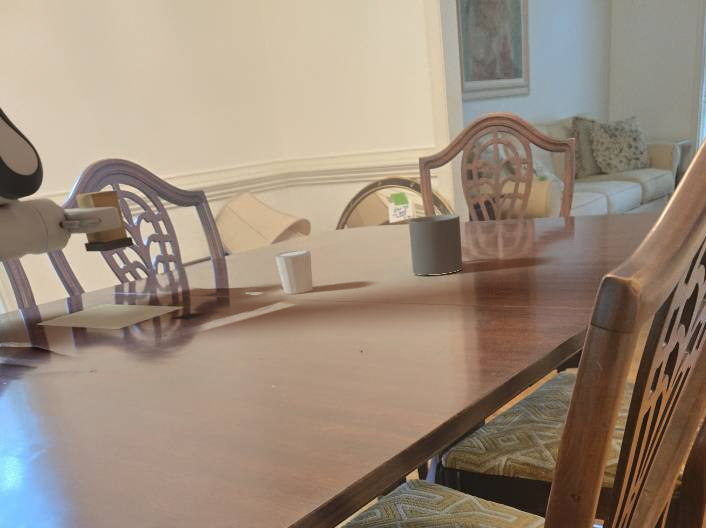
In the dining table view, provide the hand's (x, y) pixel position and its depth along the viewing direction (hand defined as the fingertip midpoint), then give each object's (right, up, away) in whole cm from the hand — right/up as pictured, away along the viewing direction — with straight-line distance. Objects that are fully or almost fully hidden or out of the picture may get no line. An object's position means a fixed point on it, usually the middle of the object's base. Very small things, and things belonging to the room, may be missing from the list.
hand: (105, 214), depth 148 cm
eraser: (0, -6, +2) cm, 6 cm away
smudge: (+20, -25, -14) cm, 35 cm away
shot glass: (+37, -14, +3) cm, 40 cm away
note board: (+4, -22, -6) cm, 24 cm away
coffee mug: (+65, -8, +9) cm, 66 cm away
